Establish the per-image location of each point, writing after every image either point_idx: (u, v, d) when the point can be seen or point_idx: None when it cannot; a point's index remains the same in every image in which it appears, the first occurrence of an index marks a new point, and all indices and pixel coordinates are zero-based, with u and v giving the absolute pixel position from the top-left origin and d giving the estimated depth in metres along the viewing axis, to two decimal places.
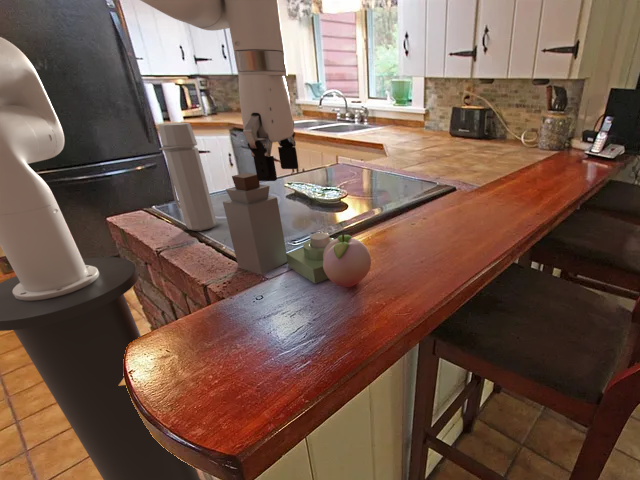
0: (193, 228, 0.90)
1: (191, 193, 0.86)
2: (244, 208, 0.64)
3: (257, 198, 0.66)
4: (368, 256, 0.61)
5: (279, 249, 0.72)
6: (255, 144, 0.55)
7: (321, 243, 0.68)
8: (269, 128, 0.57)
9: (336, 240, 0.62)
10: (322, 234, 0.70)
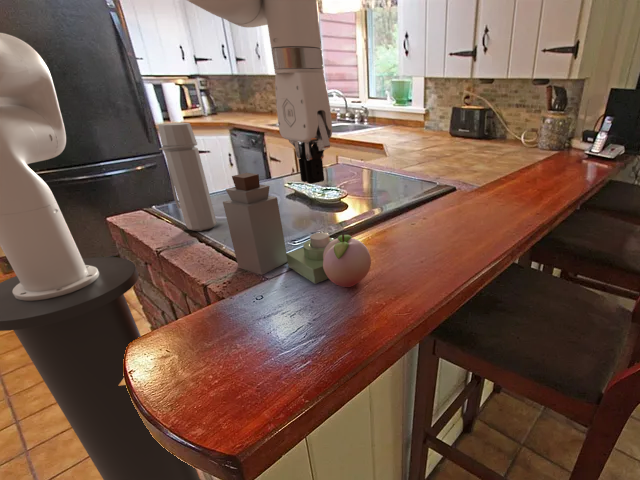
0: (193, 228, 0.90)
1: (191, 193, 0.86)
2: (244, 208, 0.64)
3: (257, 198, 0.66)
4: (368, 256, 0.61)
5: (279, 249, 0.72)
6: None
7: (321, 243, 0.68)
8: (331, 125, 0.58)
9: (336, 240, 0.62)
10: (322, 234, 0.70)
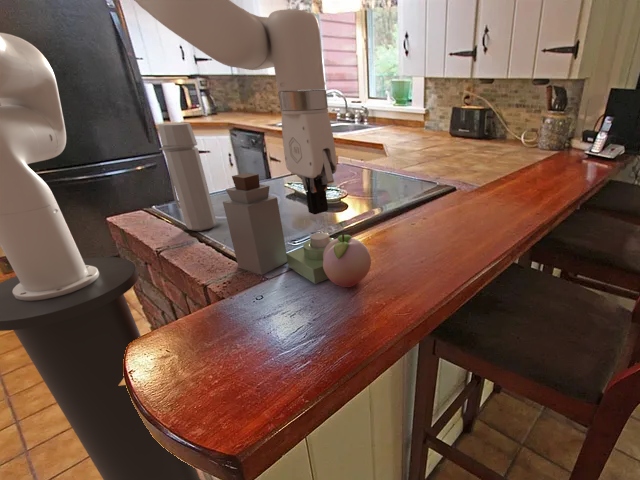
0: (193, 228, 0.90)
1: (191, 193, 0.86)
2: (244, 208, 0.64)
3: (257, 198, 0.66)
4: (368, 256, 0.61)
5: (279, 249, 0.72)
6: None
7: (321, 243, 0.68)
8: (336, 161, 0.61)
9: (336, 240, 0.62)
10: (322, 234, 0.70)
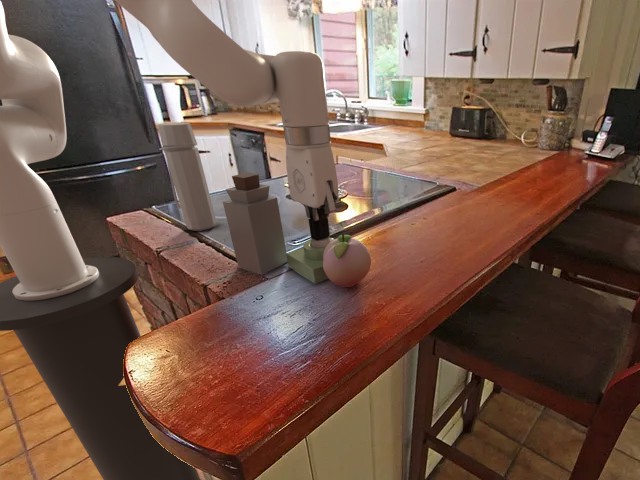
0: (193, 228, 0.90)
1: (191, 193, 0.86)
2: (244, 208, 0.64)
3: (257, 198, 0.66)
4: (368, 256, 0.61)
5: (279, 249, 0.72)
6: None
7: (321, 245, 0.68)
8: (338, 191, 0.63)
9: (336, 240, 0.62)
10: None
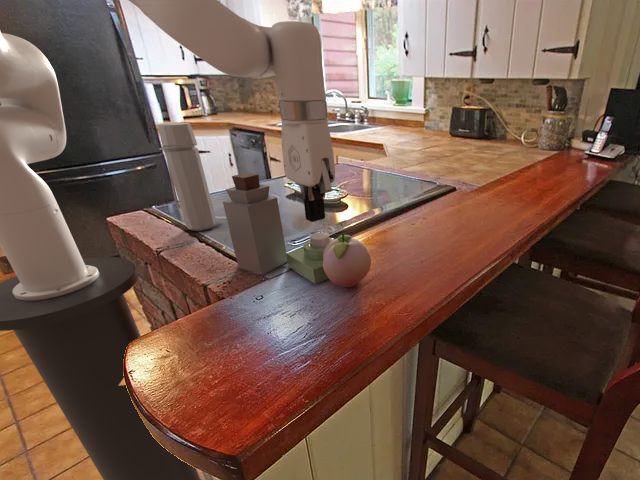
0: (193, 228, 0.90)
1: (191, 193, 0.86)
2: (244, 208, 0.64)
3: (257, 198, 0.66)
4: (368, 256, 0.61)
5: (279, 249, 0.72)
6: None
7: (321, 243, 0.68)
8: (334, 170, 0.61)
9: (336, 240, 0.62)
10: (322, 234, 0.70)
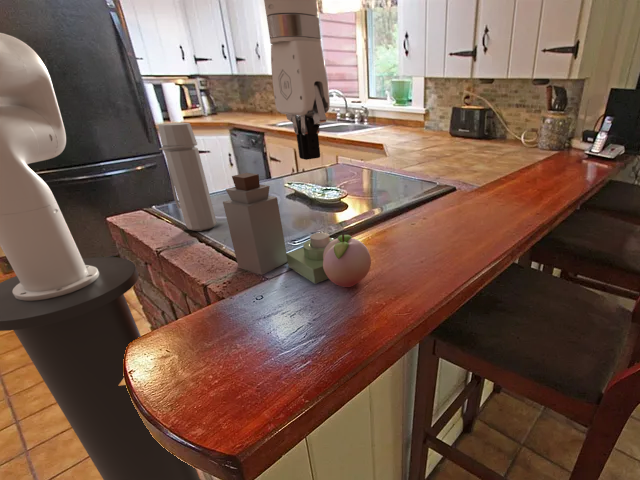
0: (193, 228, 0.90)
1: (191, 193, 0.86)
2: (244, 208, 0.64)
3: (257, 198, 0.66)
4: (368, 256, 0.61)
5: (279, 249, 0.72)
6: None
7: (321, 243, 0.68)
8: None
9: (336, 240, 0.62)
10: (322, 234, 0.70)
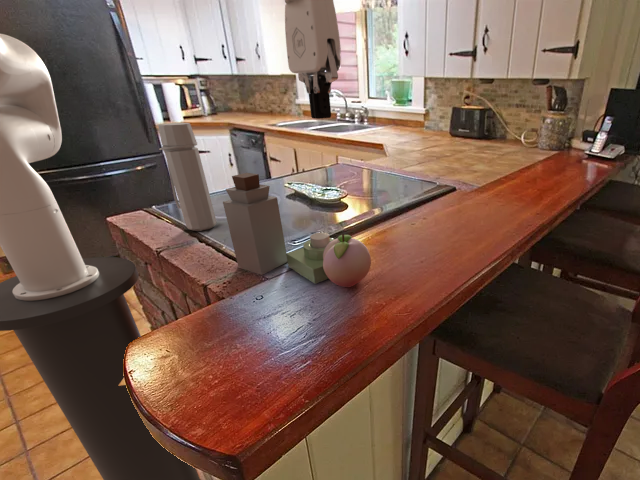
0: (193, 228, 0.90)
1: (191, 193, 0.86)
2: (244, 208, 0.64)
3: (257, 198, 0.66)
4: (368, 256, 0.61)
5: (279, 249, 0.72)
6: None
7: (321, 243, 0.68)
8: None
9: (336, 240, 0.62)
10: (322, 234, 0.70)
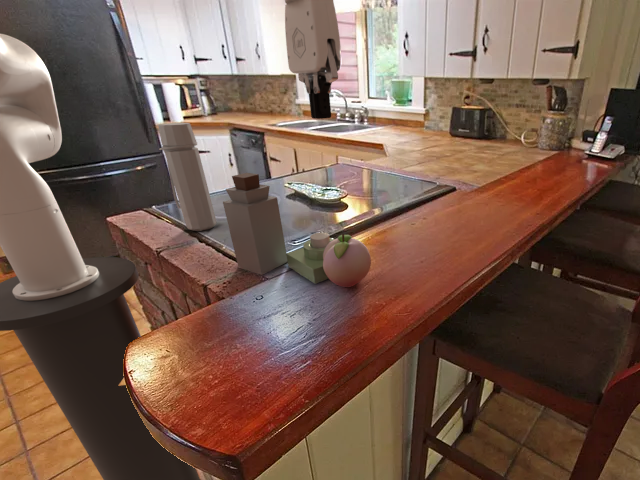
0: (193, 228, 0.90)
1: (191, 193, 0.86)
2: (244, 208, 0.64)
3: (257, 198, 0.66)
4: (368, 256, 0.61)
5: (279, 249, 0.72)
6: None
7: (321, 243, 0.68)
8: None
9: (336, 240, 0.62)
10: (322, 234, 0.70)
